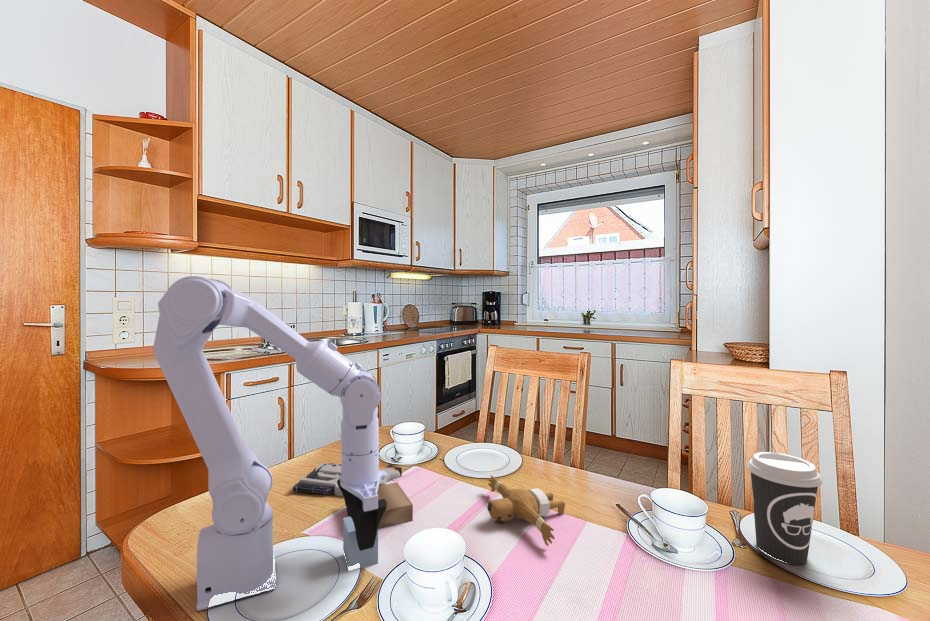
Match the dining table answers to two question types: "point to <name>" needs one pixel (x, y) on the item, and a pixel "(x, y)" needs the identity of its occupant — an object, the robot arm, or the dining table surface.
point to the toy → (524, 506)
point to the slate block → (352, 549)
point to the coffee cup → (783, 504)
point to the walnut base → (394, 505)
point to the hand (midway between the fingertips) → (360, 534)
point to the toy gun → (335, 479)
